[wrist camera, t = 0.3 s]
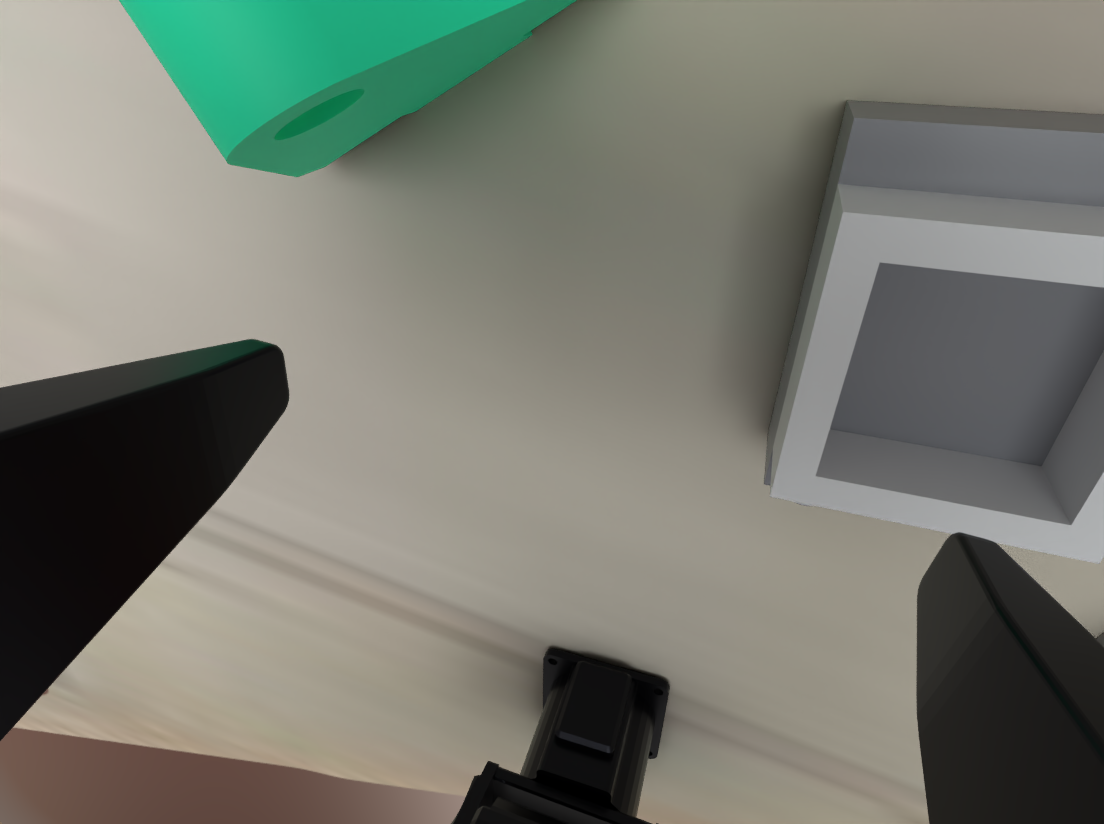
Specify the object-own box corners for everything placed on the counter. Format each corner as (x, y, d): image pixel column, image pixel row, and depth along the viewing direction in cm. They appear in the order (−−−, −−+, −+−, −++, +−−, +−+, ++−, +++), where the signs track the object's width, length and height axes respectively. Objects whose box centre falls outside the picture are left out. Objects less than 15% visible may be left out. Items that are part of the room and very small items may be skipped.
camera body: (1017, 478, 22) (1072, 604, 17) (767, 433, 24) (759, 535, 19) (1203, 120, 16) (1360, 171, 11) (847, 100, 18) (861, 137, 13)
